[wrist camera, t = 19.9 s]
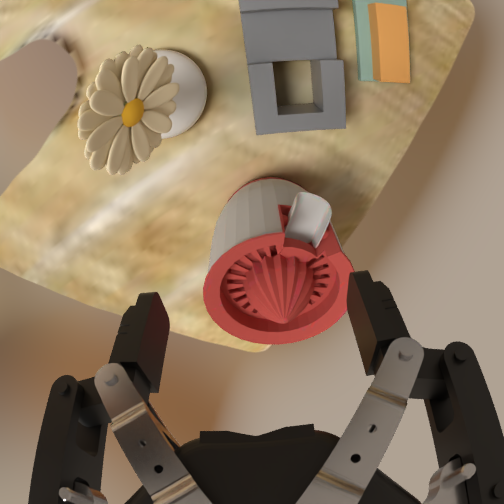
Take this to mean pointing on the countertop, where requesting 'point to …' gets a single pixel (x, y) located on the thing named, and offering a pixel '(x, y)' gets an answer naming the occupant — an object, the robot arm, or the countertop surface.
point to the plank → (389, 42)
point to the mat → (367, 35)
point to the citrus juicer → (276, 265)
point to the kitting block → (293, 48)
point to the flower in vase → (139, 106)
